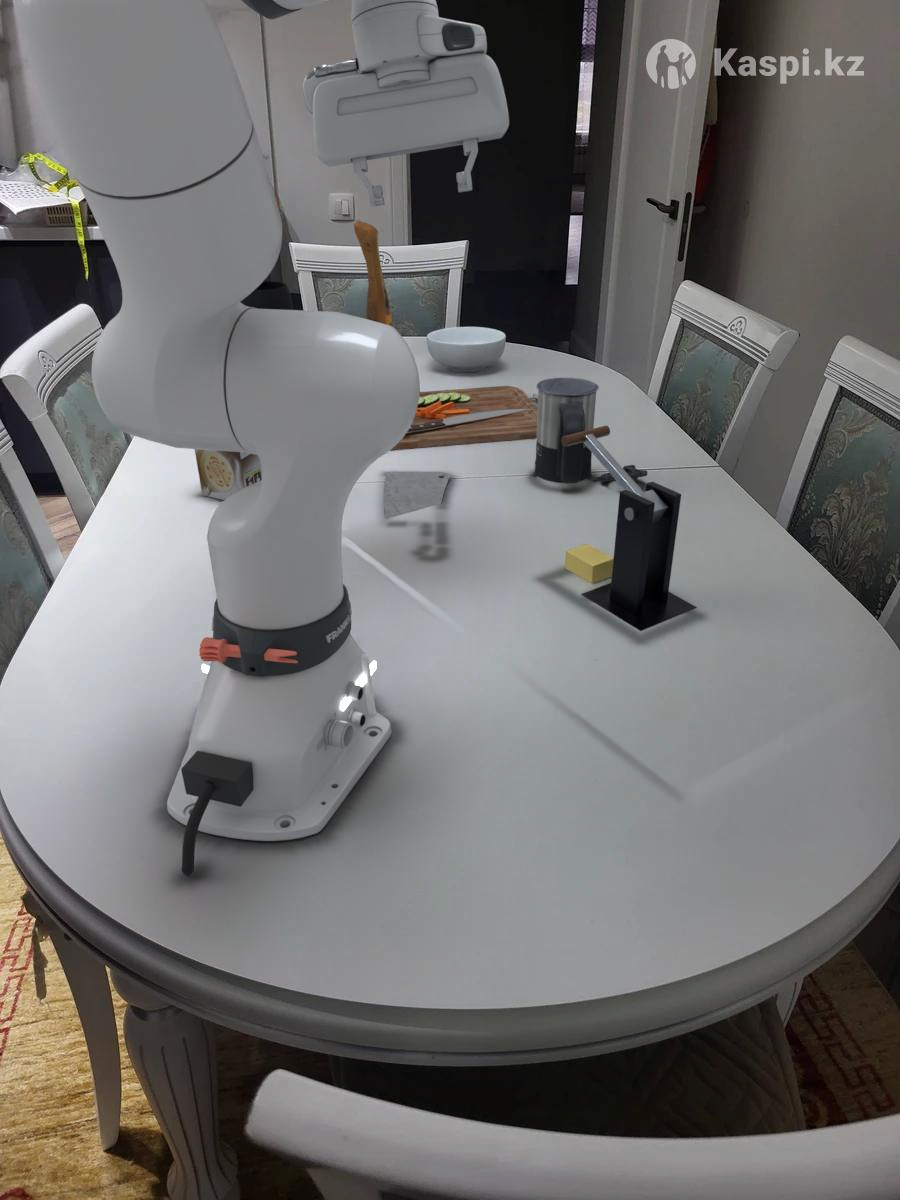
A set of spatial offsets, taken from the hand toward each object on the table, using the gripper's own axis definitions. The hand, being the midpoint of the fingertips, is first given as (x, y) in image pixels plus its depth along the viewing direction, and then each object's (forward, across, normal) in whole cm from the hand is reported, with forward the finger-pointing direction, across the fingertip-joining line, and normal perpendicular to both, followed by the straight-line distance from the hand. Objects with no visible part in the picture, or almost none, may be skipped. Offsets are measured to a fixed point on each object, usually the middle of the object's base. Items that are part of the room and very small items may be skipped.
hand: (421, 198), depth 94 cm
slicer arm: (+33, +17, -3) cm, 37 cm away
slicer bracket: (+48, +18, -4) cm, 51 cm away
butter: (+45, +14, +3) cm, 47 cm away
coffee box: (+33, -34, +31) cm, 57 cm away
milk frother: (+40, +19, +34) cm, 56 cm away
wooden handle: (+18, -14, +110) cm, 113 cm away
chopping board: (+30, -4, +63) cm, 70 cm away
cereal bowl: (+23, +5, +97) cm, 100 cm away
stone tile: (+38, -8, +24) cm, 46 cm away
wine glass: (+21, -35, +85) cm, 94 cm away
